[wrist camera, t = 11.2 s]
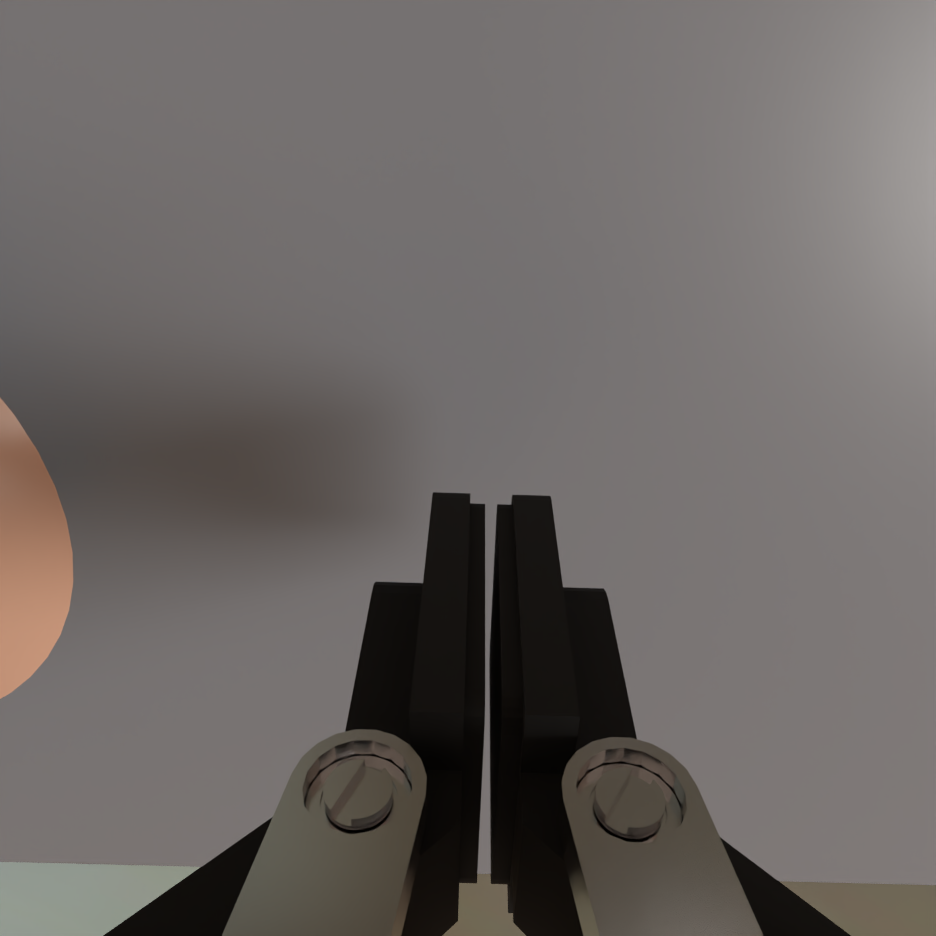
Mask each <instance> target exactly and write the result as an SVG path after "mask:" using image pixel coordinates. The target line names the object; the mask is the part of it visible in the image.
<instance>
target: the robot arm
mask: <svg viewBox="0 0 936 936" xmlns="http://www.w3.org/2000/svg"><path fill="white" fill-rule="evenodd" d="M489 688H490V845H491V884H508V913H513V922H514V923H515V924H516V925H517V926H518V927H519V928H520V930H521V931H522V932H523V933H524V934H525V935H526V936H850V935H849V934H848V933H846V932H845V931H844V930H842V929H841V928H840V927H838V926H837V925H836V924H834V923H833V922H832V921H831V920H829V919H828V918H827V917H825V916H824V915H823V914H821V913H820V912H819V911H817V910H816V909H815V908H813V907H812V906H811V905H809V904H808V903H807V902H805V901H804V900H803V899H801V898H800V897H799V896H797V895H796V894H795V893H793V892H792V891H791V890H789V889H788V888H787V887H785V886H784V885H783V884H781V883H780V882H779V881H778V880H776V879H775V878H774V877H772V876H771V875H770V874H768V873H767V872H766V871H764V870H763V869H762V868H760V867H759V866H758V865H756V864H755V863H754V862H752V861H751V860H750V859H748V858H747V857H746V856H744V855H743V854H742V853H740V852H739V851H738V850H736V849H735V848H734V847H732V846H731V845H730V844H728V843H727V842H726V841H724V840H723V839H722V838H721V837H720V836H719V834H718V832H717V830H716V827H715V825H714V823H713V821H712V818H711V816H710V814H709V812H708V809H707V807H706V805H705V802H704V800H703V798H702V796H701V793H700V791H699V789H698V787H697V785H696V783H695V782H694V780H693V779H692V777H691V775H690V774H689V772H688V771H687V769H686V768H685V767H684V766H683V765H682V764H681V763H680V762H679V761H678V760H676V759H675V758H674V757H673V756H672V755H671V754H670V753H668V752H666V751H664V750H662V749H661V748H659V747H657V746H655V745H653V744H652V743H648V742H645V741H641V740H638V739H637V737H636V732H635V727H634V722H633V717H632V712H631V708H630V703H629V698H628V693H627V688H626V683H625V678H624V674H623V669H622V664H621V659H620V654H619V649H618V644H617V639H616V635H615V630H614V625H613V620H612V615H611V610H610V605H609V601H608V597H607V593H606V591H605V590H604V588H571V587H563V583H562V576H561V568H560V561H559V553H558V546H557V538H556V530H555V523H554V515H553V508H552V500H551V496H542V495H512V501H511V505H507V504H497V514H496V533H495V553H494V573H493V593H492V613H491V632H490V658H489ZM484 727H485V504H473V503H470V493H441V492H433V495H432V503H431V513H430V522H429V531H428V541H427V550H426V559H425V569H424V578H423V583H405V582H375V583H374V585H373V589H372V594H371V599H370V604H369V609H368V615H367V620H366V625H365V630H364V635H363V641H362V646H361V651H360V656H359V662H358V667H357V672H356V677H355V682H354V688H353V693H352V698H351V703H350V709H349V714H348V719H347V724H346V729H345V732H342V733H337V734H335V735H333V736H331V737H329V738H327V739H325V740H323V741H321V742H319V743H317V744H316V745H315V746H314V747H312V748H311V749H310V750H309V751H308V752H307V753H306V754H305V755H303V756H302V758H301V759H300V761H299V762H298V764H297V766H296V767H295V769H294V770H293V772H292V774H291V776H290V778H289V781H288V783H287V785H286V788H285V790H284V792H283V794H282V797H281V799H280V801H279V804H278V806H277V808H276V811H275V813H274V815H273V817H272V818H270V819H269V820H268V821H266V822H265V823H263V824H262V825H260V826H259V827H258V828H256V829H255V830H253V831H252V832H250V833H249V834H248V835H246V836H245V837H243V838H242V839H240V840H239V841H238V842H236V843H235V844H233V845H232V846H230V847H229V848H228V849H226V850H225V851H223V852H222V853H220V854H219V855H218V856H216V857H215V858H213V859H212V860H211V861H209V862H208V863H206V864H205V865H203V866H202V867H201V868H199V869H198V870H196V871H195V872H193V873H192V874H191V875H189V876H188V877H186V878H185V879H183V880H182V881H181V882H179V883H178V884H176V885H175V886H173V887H172V888H171V889H169V890H168V891H166V892H165V893H164V894H162V895H161V896H159V897H158V898H156V899H155V900H154V901H152V902H151V903H149V904H148V905H146V906H145V907H144V908H142V909H141V910H139V911H138V912H136V913H135V914H134V915H132V916H131V917H129V918H128V919H126V920H125V921H124V922H122V923H121V924H119V925H118V926H117V927H115V928H114V929H112V930H111V931H109V932H108V933H107V934H105V935H104V936H442V935H443V934H444V933H445V932H446V931H447V930H449V929H450V928H451V927H452V926H453V925H454V924H455V923H456V922H457V921H458V898H459V883H477V870H478V850H479V830H480V810H481V789H482V769H483V749H484Z"/></svg>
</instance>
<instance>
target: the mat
mask: <svg viewBox="0 0 936 936" xmlns="http://www.w3.org/2000/svg"><path fill="white" fill-rule="evenodd" d="M433 492H441V493H470V503H473V504H485V727H484V749H483V769H482V789H481V810H480V830H479V850H478V870H477V874H491V845H490V688H489V658H490V632H491V613H492V593H493V573H494V553H495V533H496V514H497V504H507V505H511V501H512V495H542V496H551V500H552V508H553V515H554V523H555V530H556V538H557V546H558V553H559V561H560V568H561V576H562V583H563V587H571V588H604V590H605V591H606V593H607V597H608V601H609V605H610V610H611V615H612V620H613V625H614V630H615V635H616V639H617V644H618V649H619V654H620V659H621V664H622V669H623V674H624V678H625V683H626V688H627V693H628V698H629V703H630V708H631V712H632V717H633V722H634V727H635V732H636V737H637V739H638V740H641V741H645V742H648V743H652V744H653V745H655V746H657V747H659V748H661V749H662V750H664V751H666V752H668V753H670V754H671V755H672V756H673V757H674V758H675V759H676V760H678V761H679V762H680V763H681V764H682V765H683V766H684V767H685V768H686V769H687V771H688V772H689V774H690V775H691V777H692V779H693V780H694V782H695V783H696V785H697V787H698V789H699V791H700V793H701V796H702V798H703V800H704V802H705V805H706V807H707V809H708V812H709V814H710V816H711V818H712V821H713V823H714V825H715V827H716V830H717V832H718V834H719V836H720V837H721V838H722V839H723V840H724V841H726V842H727V843H728V844H730V845H731V846H732V847H734V848H735V849H736V850H738V851H739V852H740V853H742V854H743V855H744V856H746V857H747V858H748V859H750V860H751V861H752V862H754V863H755V864H756V865H758V866H759V867H760V868H762V869H763V870H764V871H766V872H767V873H768V874H770V875H771V876H772V877H774V878H775V879H776V880H778V881H796V882H836V883H876V884H916V885H936V0H0V862H36V863H76V864H116V865H156V866H196V867H202V866H203V865H205V864H206V863H208V862H209V861H211V860H212V859H213V858H215V857H216V856H218V855H219V854H220V853H222V852H223V851H225V850H226V849H228V848H229V847H230V846H232V845H233V844H235V843H236V842H238V841H239V840H240V839H242V838H243V837H245V836H246V835H248V834H249V833H250V832H252V831H253V830H255V829H256V828H258V827H259V826H260V825H262V824H263V823H265V822H266V821H268V820H269V819H270V818H272V817H273V815H274V813H275V811H276V808H277V806H278V804H279V801H280V799H281V797H282V794H283V792H284V790H285V788H286V785H287V783H288V781H289V778H290V776H291V774H292V772H293V770H294V769H295V767H296V766H297V764H298V762H299V761H300V759H301V758H302V756H303V755H305V754H306V753H307V752H308V751H309V750H310V749H311V748H312V747H314V746H315V745H316V744H317V743H319V742H321V741H323V740H325V739H327V738H329V737H331V736H333V735H335V734H337V733H342V732H345V729H346V724H347V719H348V714H349V709H350V703H351V698H352V693H353V688H354V682H355V677H356V672H357V667H358V662H359V656H360V651H361V646H362V641H363V635H364V630H365V625H366V620H367V615H368V609H369V604H370V599H371V594H372V589H373V585H374V583H375V582H405V583H423V578H424V569H425V559H426V550H427V541H428V531H429V522H430V513H431V503H432V495H433Z"/></svg>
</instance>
